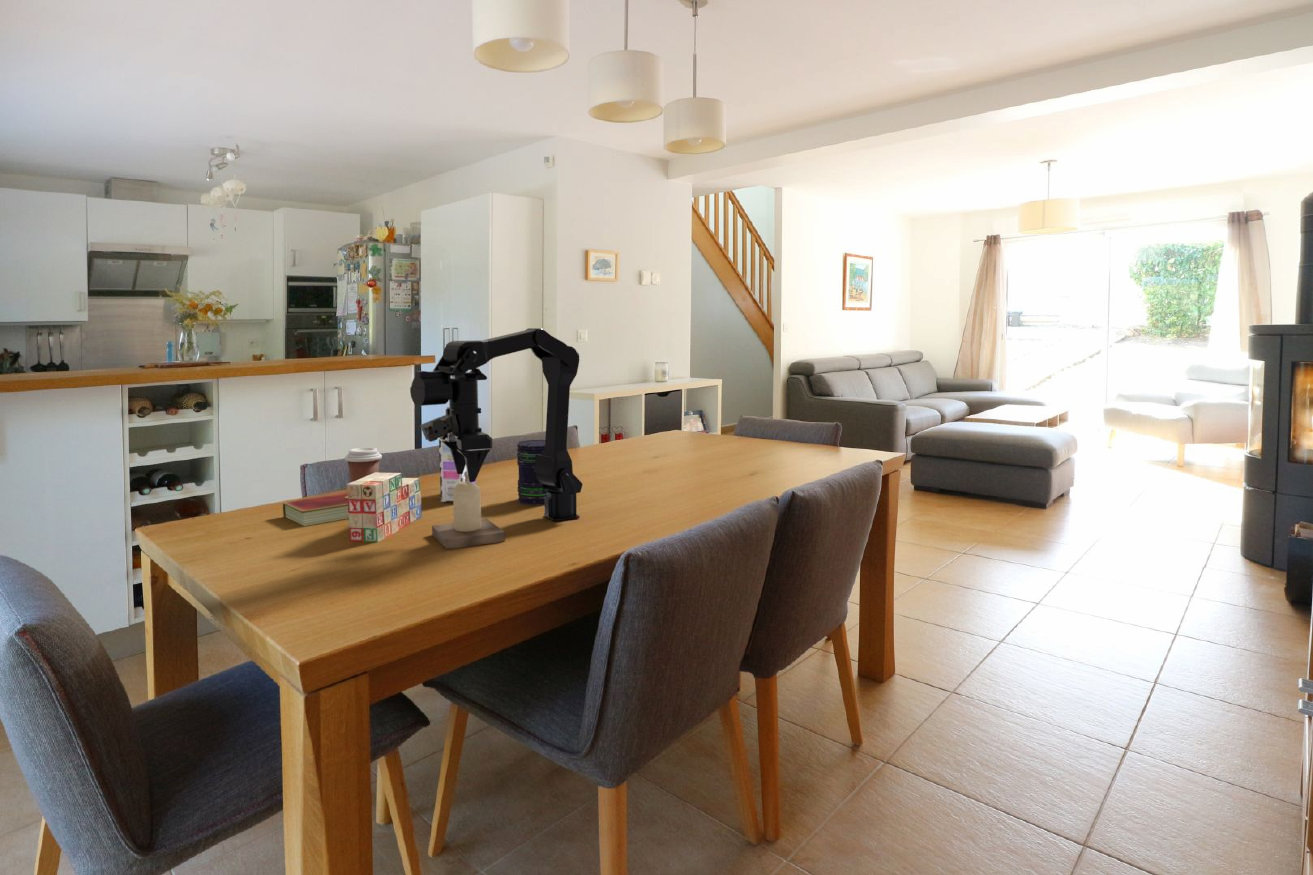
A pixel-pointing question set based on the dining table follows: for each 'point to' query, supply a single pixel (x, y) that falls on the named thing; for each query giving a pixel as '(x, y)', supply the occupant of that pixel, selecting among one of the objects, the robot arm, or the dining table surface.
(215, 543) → the dining table surface
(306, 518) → the hardcover book
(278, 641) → the dining table surface
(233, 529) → the dining table surface
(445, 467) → the candy box
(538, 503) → the storage jar
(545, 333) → the robot arm
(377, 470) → the coffee cup
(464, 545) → the grey square slab
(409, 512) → the stack of blocks
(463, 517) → the candle
